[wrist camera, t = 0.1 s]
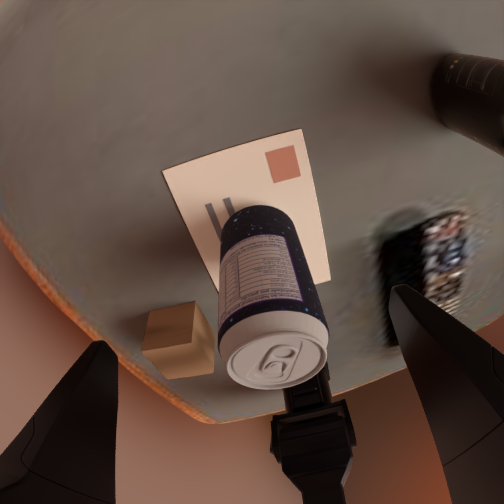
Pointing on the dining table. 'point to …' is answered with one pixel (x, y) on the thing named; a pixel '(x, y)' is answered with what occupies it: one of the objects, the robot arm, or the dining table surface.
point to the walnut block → (179, 341)
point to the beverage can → (268, 302)
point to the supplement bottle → (471, 98)
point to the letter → (250, 195)
